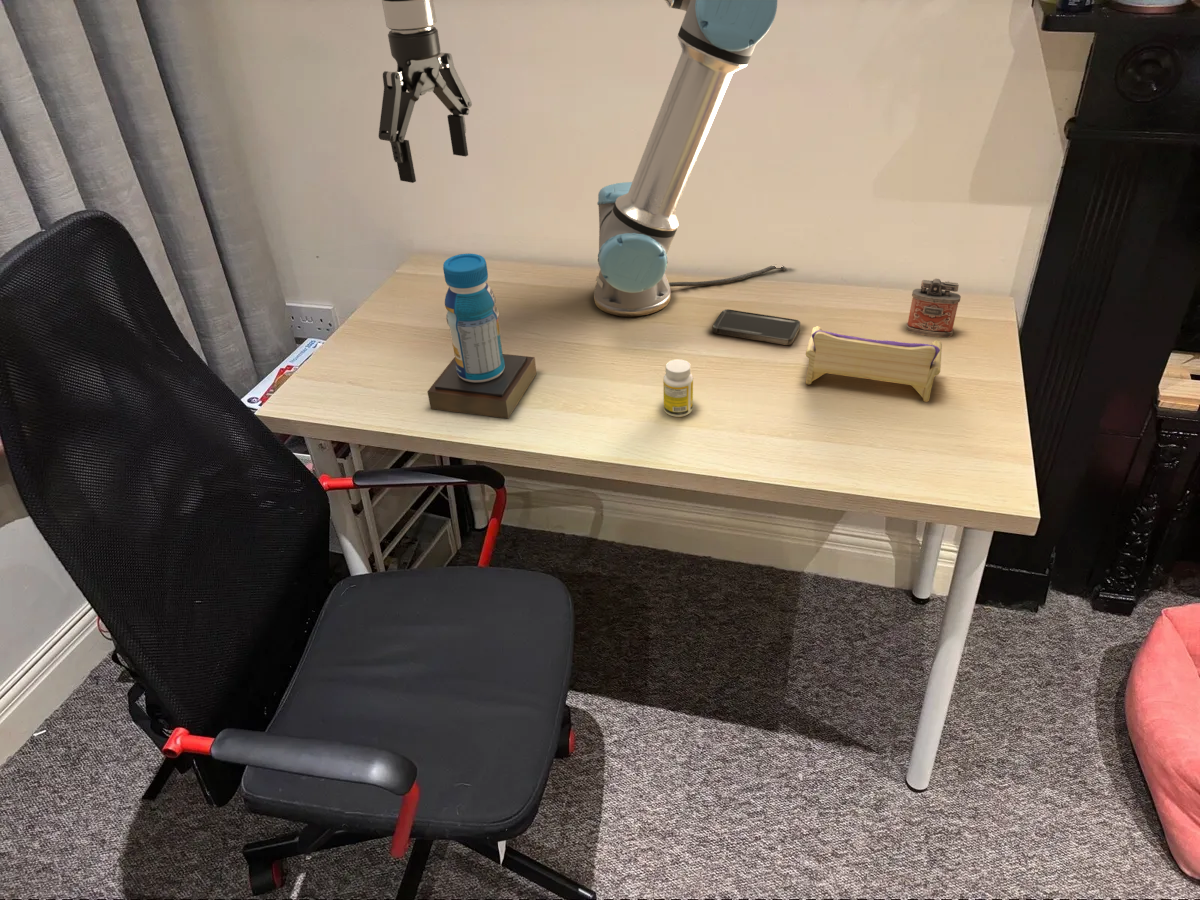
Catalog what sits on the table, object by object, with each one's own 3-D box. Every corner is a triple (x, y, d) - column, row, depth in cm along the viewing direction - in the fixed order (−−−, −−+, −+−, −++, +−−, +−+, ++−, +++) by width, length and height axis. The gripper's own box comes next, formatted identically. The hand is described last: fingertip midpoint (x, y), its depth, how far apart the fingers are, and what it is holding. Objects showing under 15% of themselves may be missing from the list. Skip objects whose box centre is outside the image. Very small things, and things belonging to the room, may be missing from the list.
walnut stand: (536, 374, 152) (534, 354, 149) (508, 418, 141) (505, 398, 139) (463, 365, 155) (460, 346, 153) (430, 408, 144) (426, 389, 142)
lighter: (904, 332, 157) (914, 282, 151) (906, 323, 159) (916, 274, 153) (951, 338, 154) (963, 288, 148) (953, 330, 156) (964, 279, 150)
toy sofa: (935, 375, 145) (946, 321, 139) (933, 403, 138) (945, 348, 132) (809, 359, 151) (814, 307, 145) (801, 385, 144) (807, 332, 138)
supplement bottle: (676, 397, 143) (677, 354, 138) (698, 408, 141) (699, 364, 135) (657, 410, 141) (657, 366, 136) (679, 421, 138) (679, 376, 133)
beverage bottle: (485, 389, 141) (468, 277, 129) (445, 376, 145) (425, 267, 133) (516, 365, 146) (502, 256, 134) (477, 353, 150) (460, 246, 138)
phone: (723, 308, 165) (801, 320, 159) (723, 313, 165) (801, 325, 160) (711, 327, 159) (791, 340, 154) (710, 333, 160) (790, 346, 154)
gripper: (445, 10, 140) (463, 142, 153) (334, 44, 124) (366, 189, 136) (481, 13, 137) (497, 147, 150) (373, 48, 120) (402, 196, 133)
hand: (435, 167), depth 143 cm, fingers open, 13 cm apart
